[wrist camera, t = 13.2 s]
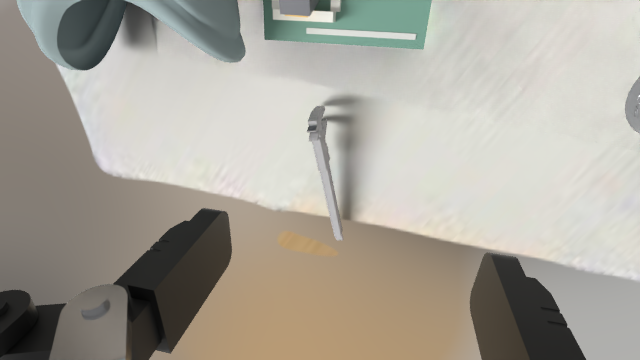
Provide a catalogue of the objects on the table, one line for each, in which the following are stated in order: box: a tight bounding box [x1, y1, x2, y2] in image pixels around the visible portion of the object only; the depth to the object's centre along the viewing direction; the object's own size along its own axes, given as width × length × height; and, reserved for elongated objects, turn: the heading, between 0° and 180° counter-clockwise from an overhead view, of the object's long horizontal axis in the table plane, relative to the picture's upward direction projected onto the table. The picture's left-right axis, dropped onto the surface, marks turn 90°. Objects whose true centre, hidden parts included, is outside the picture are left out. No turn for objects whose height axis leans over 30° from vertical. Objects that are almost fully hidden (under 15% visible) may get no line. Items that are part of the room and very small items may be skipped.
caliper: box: [307, 106, 343, 240], centre depth 44 cm, size 20×1×6 cm, turn 9°
